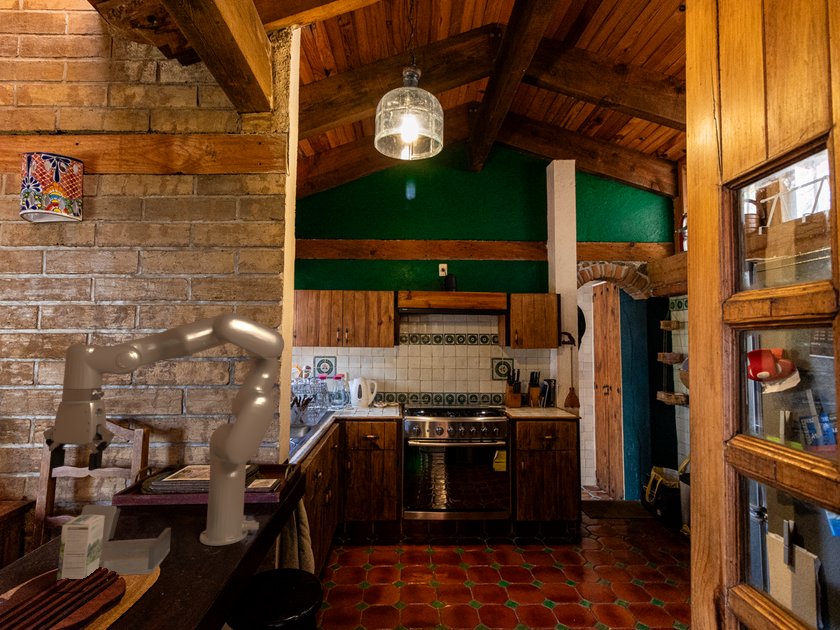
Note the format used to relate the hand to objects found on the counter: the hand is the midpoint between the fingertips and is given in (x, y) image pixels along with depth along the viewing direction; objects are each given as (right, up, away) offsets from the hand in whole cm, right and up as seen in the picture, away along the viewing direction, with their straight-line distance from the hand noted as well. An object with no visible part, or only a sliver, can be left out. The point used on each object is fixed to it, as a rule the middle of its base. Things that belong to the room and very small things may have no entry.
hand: (75, 468), depth 104 cm
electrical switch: (-8, -26, +17) cm, 32 cm away
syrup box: (+6, -24, -7) cm, 26 cm away
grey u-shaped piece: (+9, -25, +3) cm, 27 cm away
